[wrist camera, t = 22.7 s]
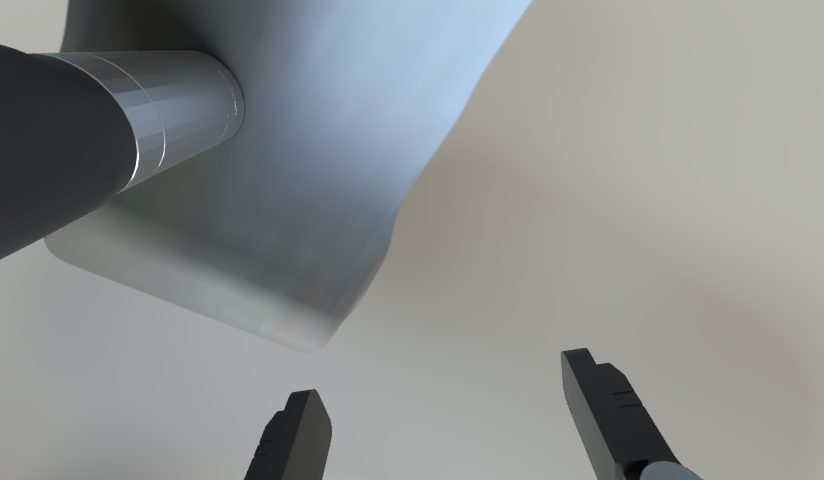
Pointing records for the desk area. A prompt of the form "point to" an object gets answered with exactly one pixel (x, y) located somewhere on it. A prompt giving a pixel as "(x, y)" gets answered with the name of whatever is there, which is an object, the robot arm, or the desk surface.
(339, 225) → the desk surface
